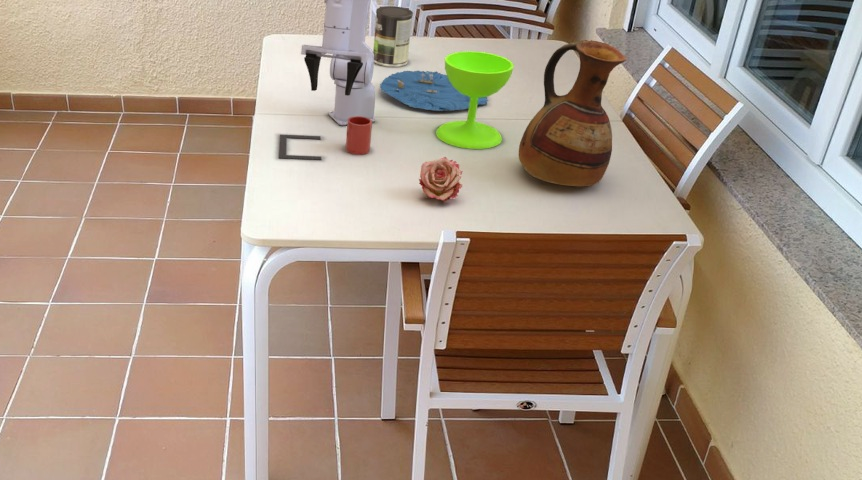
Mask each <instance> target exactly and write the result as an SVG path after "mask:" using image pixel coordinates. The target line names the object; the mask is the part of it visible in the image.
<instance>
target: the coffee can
mask: <svg viewBox="0 0 862 480" xmlns="http://www.w3.org/2000/svg"><path fill="white" fill-rule="evenodd" d="M375 13H376V14H375V15H376V16H375V27H374V39H373V41H374V42H373V49H372V51H373V53H374V64H376V65H378V66H382V67H388V68H397V67H398V68H399V67H404V66H406V65H407V64H408V63H409V61H408V59H409V49H410V40H411V32H412V21H413V15H414V12H413V11H412V10H411V9H409V8H406V7H402V6H397V5H396V6H394V5H386V6H385V5H384V6H380V7H378V8H376V10H375Z"/></svg>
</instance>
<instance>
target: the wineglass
mask: <svg viewBox="0 0 862 480" xmlns="http://www.w3.org/2000/svg"><path fill="white" fill-rule="evenodd" d="M514 66H515V65H514V63H513V62H512V61H511V60H510V59H509V58H506V57H504V56H502V55H498V54H495V53H489V52H484V51H483V52H482V51H467V50H466V51H456V52H453V53H449V54H447V55H446V56H445V57H444V70H445V75H447V77H448V79H449V81H450V83H451V84H452V86H453V87H454V88H455V89H456V90H458V91H459V92H460V93H461V94H463V95H466V96H469V97H470V103H469V108H468V109H467V110H468V111H467V118H466V120H452V121H449V122H445V123H443V124H441V125H440V126H439V127H437V129H436V132H435V135H436V138H438V139H439V141H441V142H444V143H445V144H447V145H450V146H452V147H457V148H461V149H468V150H484V149H491V148H494V147H497V146H498V145H500V144H501V143H502V139H503V137H502V135H501V133H500V131H498V130H497V129H496V128H495V127H493V126H491V125H488V124H486V123H483V122H478V121H476V117H477V116H476V115H477V110H478V105H477V103H478V98H481V97H487V98H488V97H490V96H492V95H494V94H496V93H498V92H499V91H500V90H501V89H502V88H504V86H506V85H507V83H508V81H510V79H511V76H512V73H513V70H514Z"/></svg>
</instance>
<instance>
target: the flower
mask: <svg viewBox="0 0 862 480" xmlns="http://www.w3.org/2000/svg"><path fill="white" fill-rule="evenodd" d="M462 174H463V170H461V169H460V164H459V163H457V161H456V160H453V159H450V160H449V159H448V158H447V156H444V157H442V158H441V157H440V158H438V159H435V160H432V161H425V162H423V163H422V165H421V167H420V175H419V178H418V181H419V183H418V184H419V185H420V186H421V189H422V192H423V194H424V195H425V196H426V197H424V198H423V199H424V200H425V199H427V198H430V199H434V198H435V200H439V201H440V200H441V201H442V202H443V203H446V202H447V201H448V200H450V199H452V200H453V199H456V198H457V197H459V194H458V193H459V192H460V190H461V189H462V188H463V184H462V183H461V181H460V180H461V179H462Z"/></svg>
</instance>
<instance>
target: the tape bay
mask: <svg viewBox="0 0 862 480" xmlns="http://www.w3.org/2000/svg"><path fill="white" fill-rule="evenodd" d="M287 139H296V140H297V139H299V140H300V139H301V140H319V141H320V140H321V139H322V138H321V135H304V134H303V135H301V134H300V135H299V134H279V143H278V145H279V146H278V159H280V160H281V159H282V160H283V159H284V160H305V161H307V160H309V161H322V156H317V155H316V156H315V155H292V154H291V155H290V154H287Z"/></svg>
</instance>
